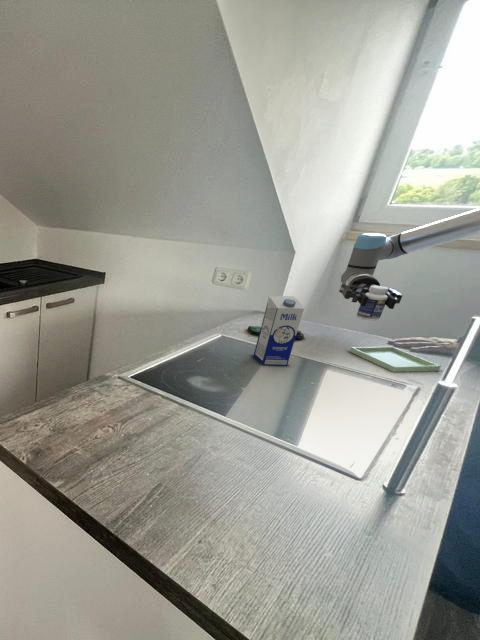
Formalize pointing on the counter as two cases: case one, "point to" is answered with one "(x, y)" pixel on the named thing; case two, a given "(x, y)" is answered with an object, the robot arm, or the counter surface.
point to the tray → (394, 359)
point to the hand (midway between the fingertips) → (378, 303)
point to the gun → (256, 330)
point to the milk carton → (278, 330)
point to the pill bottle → (373, 304)
